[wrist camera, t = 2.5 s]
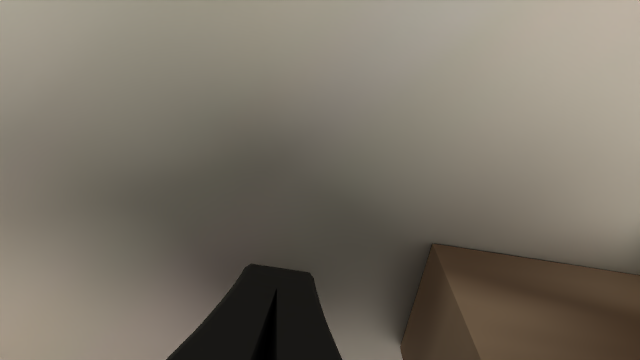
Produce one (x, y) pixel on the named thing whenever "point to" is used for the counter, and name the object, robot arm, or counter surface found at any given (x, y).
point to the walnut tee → (520, 310)
